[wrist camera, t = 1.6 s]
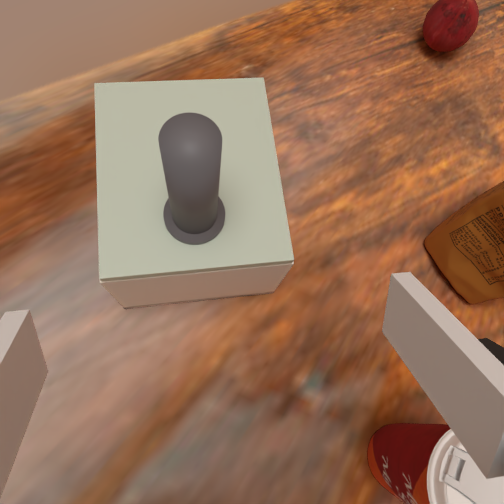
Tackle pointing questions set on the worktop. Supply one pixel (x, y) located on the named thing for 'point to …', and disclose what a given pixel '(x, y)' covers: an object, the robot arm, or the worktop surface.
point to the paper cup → (429, 466)
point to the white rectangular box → (197, 286)
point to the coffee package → (473, 247)
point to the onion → (450, 24)
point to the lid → (187, 178)
